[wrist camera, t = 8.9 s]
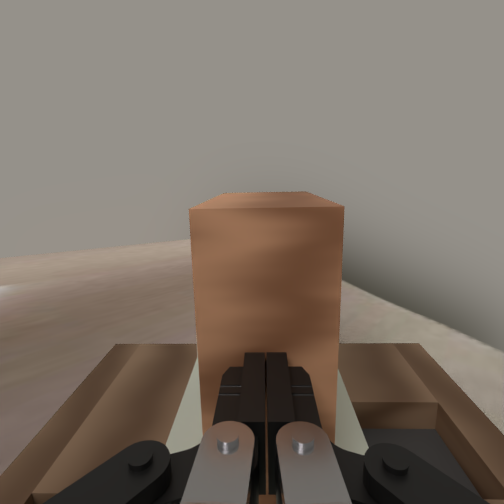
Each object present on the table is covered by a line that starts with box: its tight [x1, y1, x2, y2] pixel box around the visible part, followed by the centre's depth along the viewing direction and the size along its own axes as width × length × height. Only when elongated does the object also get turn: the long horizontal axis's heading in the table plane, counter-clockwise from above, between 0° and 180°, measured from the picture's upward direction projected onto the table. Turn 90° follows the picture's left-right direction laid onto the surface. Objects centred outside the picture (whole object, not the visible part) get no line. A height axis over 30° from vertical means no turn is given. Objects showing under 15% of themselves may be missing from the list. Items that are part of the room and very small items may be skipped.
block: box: [189, 192, 344, 504], centre depth 17 cm, size 5×10×12 cm, turn 178°
